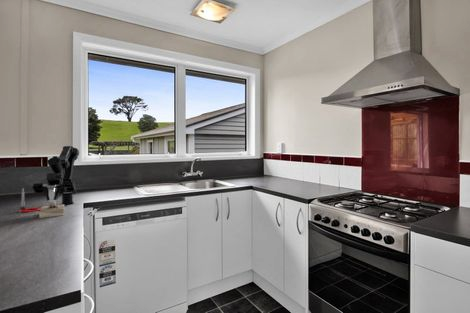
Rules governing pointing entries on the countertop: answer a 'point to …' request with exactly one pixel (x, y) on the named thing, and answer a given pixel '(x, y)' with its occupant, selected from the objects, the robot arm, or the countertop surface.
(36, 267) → the countertop surface
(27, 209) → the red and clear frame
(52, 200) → the steel pin
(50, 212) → the socket block
